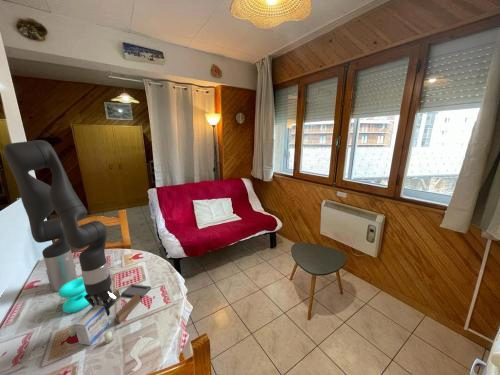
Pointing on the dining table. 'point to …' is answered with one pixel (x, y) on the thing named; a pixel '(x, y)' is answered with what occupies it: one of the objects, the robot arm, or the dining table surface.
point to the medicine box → (91, 325)
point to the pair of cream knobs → (107, 335)
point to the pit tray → (136, 290)
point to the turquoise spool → (74, 296)
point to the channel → (126, 306)
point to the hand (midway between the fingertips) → (105, 316)
